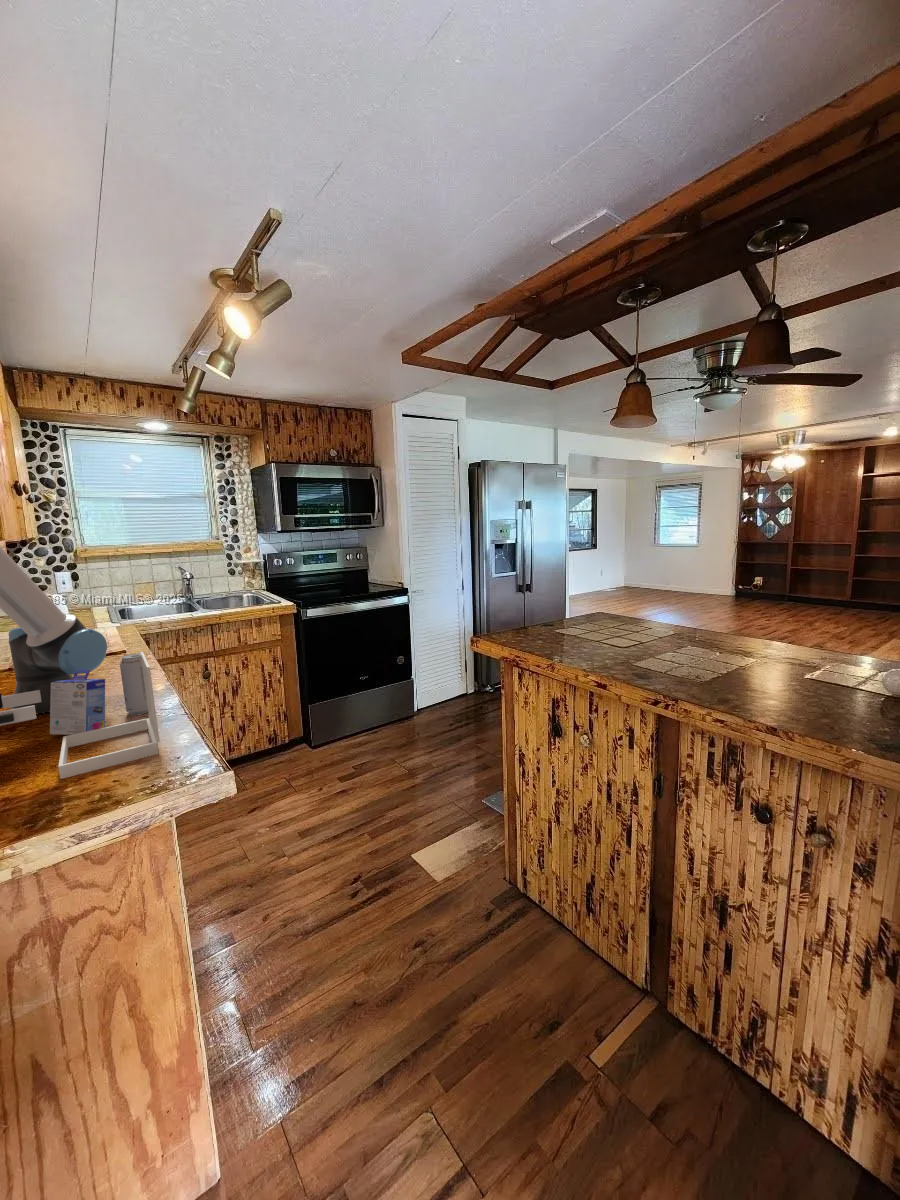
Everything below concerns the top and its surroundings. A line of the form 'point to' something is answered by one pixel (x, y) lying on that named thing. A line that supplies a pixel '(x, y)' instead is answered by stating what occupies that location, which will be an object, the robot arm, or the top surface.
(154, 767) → the top surface
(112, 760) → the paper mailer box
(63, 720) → the ink cartridge box
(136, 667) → the energy drink can
